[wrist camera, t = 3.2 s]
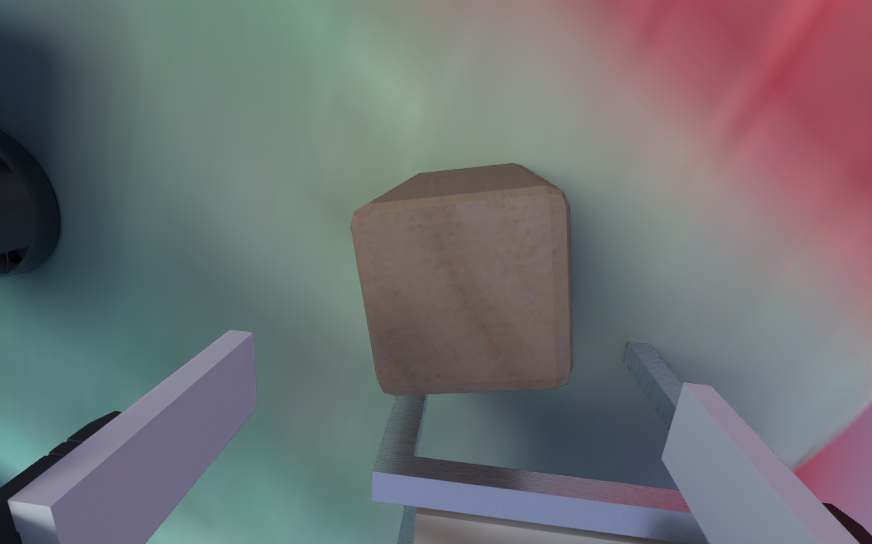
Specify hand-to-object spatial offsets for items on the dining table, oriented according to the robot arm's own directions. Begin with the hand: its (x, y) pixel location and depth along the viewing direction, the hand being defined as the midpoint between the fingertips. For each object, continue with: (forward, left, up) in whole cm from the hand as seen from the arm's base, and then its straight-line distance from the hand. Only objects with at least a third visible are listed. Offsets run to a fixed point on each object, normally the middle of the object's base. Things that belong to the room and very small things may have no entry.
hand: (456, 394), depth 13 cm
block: (0, 0, -27) cm, 27 cm away
